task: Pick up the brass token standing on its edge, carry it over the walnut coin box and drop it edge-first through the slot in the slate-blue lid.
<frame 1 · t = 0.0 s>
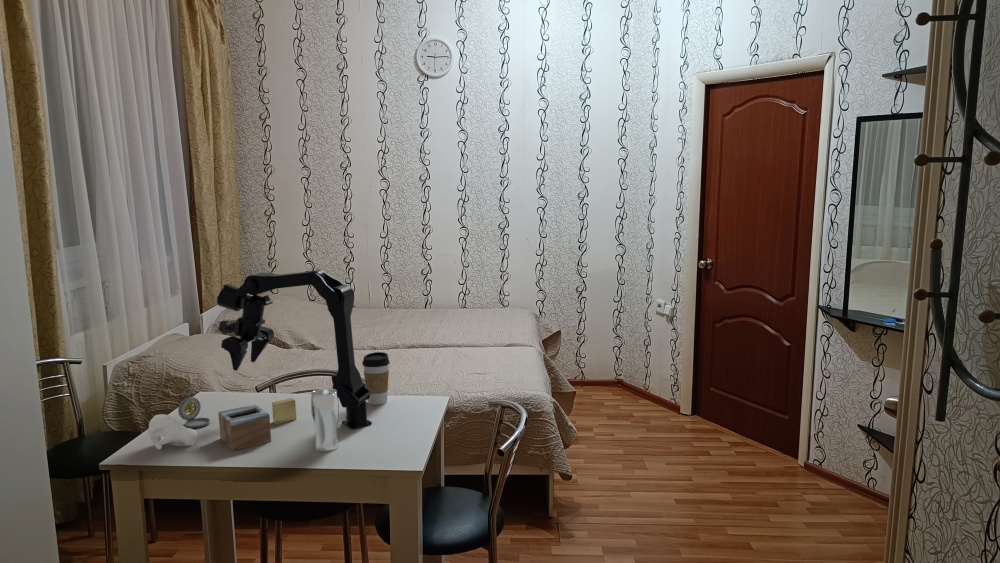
hand: (244, 366, 213), 15 cm above the table, tool pointing down, fingers open, 9 cm apart
pocket watch: (196, 424, 210), on the table
beer glass: (327, 447, 190), on the table
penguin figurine: (175, 446, 193), on the table
coin box: (245, 439, 196), on the table
coffee cup: (377, 402, 227), on the table
brass token: (284, 420, 211), on the table
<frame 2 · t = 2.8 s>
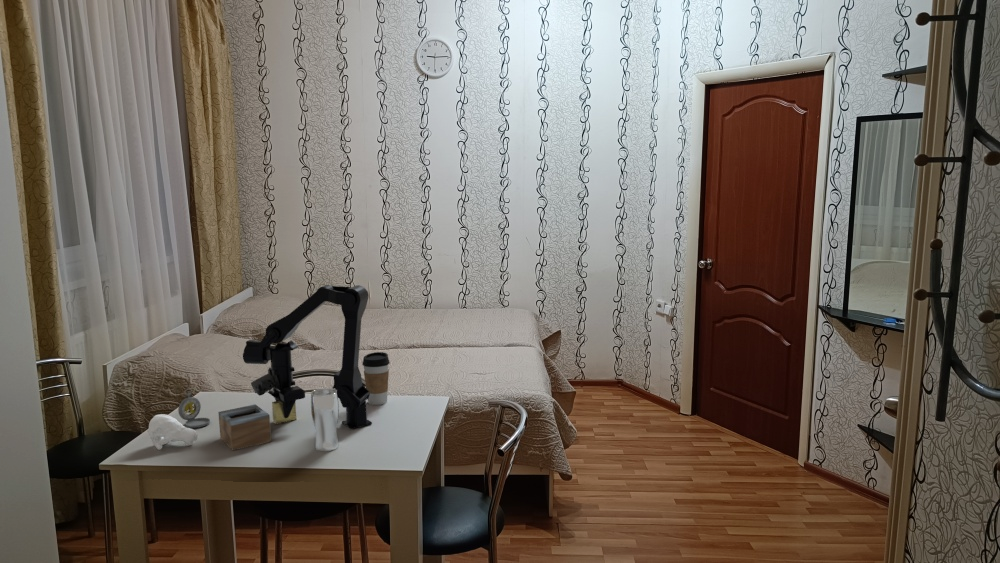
hand: (284, 416, 211), 1 cm above the table, tool pointing down, fingers closed on brass token, 2 cm apart
brass token: (284, 420, 211), on the table, touching gripper
everything else where it was.
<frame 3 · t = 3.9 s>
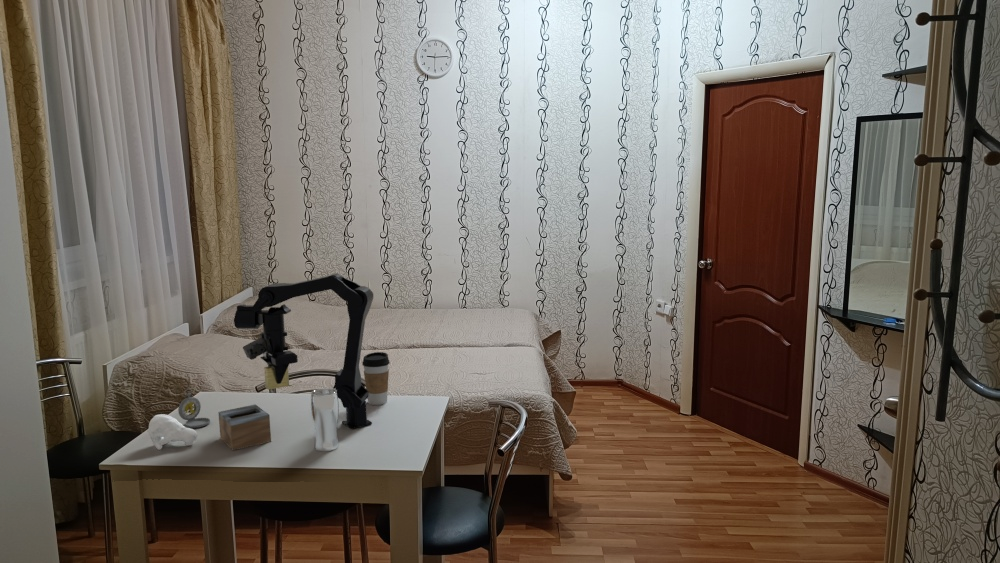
hand: (277, 382, 207), 12 cm above the table, tool pointing down, fingers closed on brass token, 2 cm apart
brass token: (277, 386, 208), point 11 cm above the table, touching gripper
everything else where it was.
when the fingers open (8 cm above the table, at t = 5.5 s): brass token drops 7 cm, resting on coin box.
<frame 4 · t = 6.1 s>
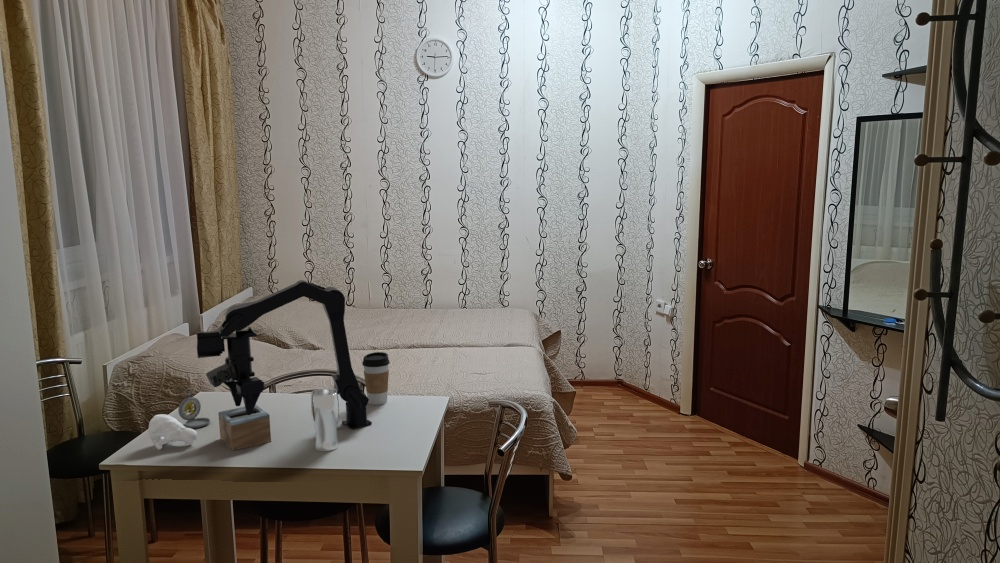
hand: (243, 410, 195), 8 cm above the table, tool pointing down, fingers open, 9 cm apart
brass token: (245, 438, 196), point 1 cm above the table, touching coin box
everything else where it was.
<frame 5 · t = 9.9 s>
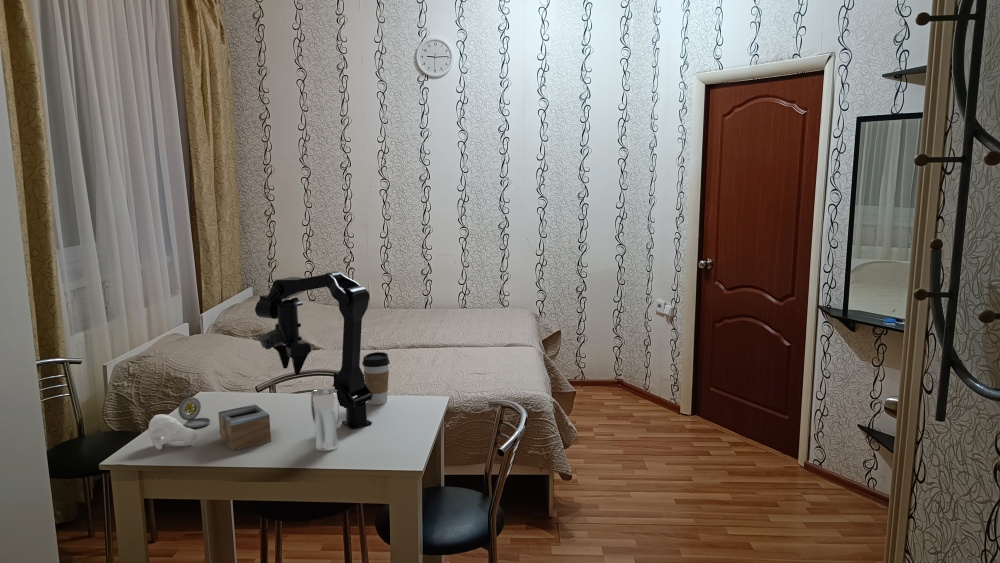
hand: (291, 371, 217), 12 cm above the table, tool pointing down, fingers open, 9 cm apart
nothing on the table moved.
at the end: brass token inside the target area on the coin box (0.1 cm from its centre), point 0.5 cm above the coin box's base; the gripper is holding nothing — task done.
